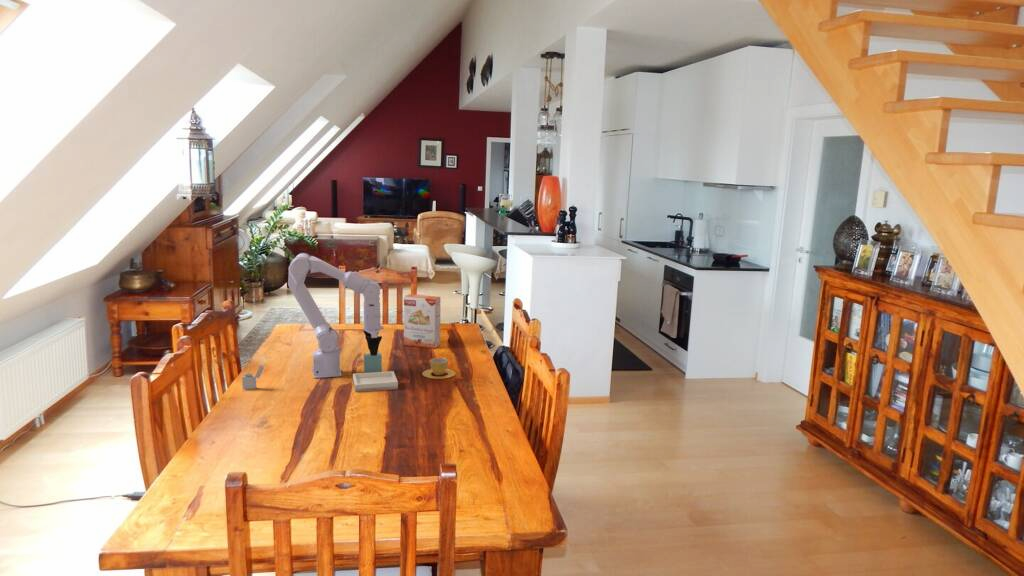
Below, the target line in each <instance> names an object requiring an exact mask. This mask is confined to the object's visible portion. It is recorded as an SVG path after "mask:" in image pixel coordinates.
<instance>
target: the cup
mask: <svg viewBox="0 0 1024 576" xmlns="http://www.w3.org/2000/svg"><path fill="white" fill-rule="evenodd" d="M448 363H449V360H448V359H447V358H446V357H445V358H444V357H434V358H431V359H430V360H429V365H430V369H429V368H428V369H427V370H424V371H422V373H421V374H422V376H423V377H425V378H428V379H435V380H436V379H437V380H441V379H442V380H443V379H450V378H452V377H454V376H455V375H456V374H457V373H456V371H454V370H452V369H449V368H448ZM432 373H433V374H434V375H432ZM445 373H446V375H445ZM447 373H448V375H447Z"/></svg>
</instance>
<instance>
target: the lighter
mask: <svg viewBox="0 0 1024 576" xmlns="http://www.w3.org/2000/svg"><path fill="white" fill-rule="evenodd" d="M265 367H266V366H265V365H263V364H260V366H259V367H258V370H257V372H256V374H254V375H253V372H247V373H244V375H242V377H241V385H242V390H243V389H249V390H256V389H257V379H259V378H260V377H261V375H262V373H263V370H264V369H265Z"/></svg>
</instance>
